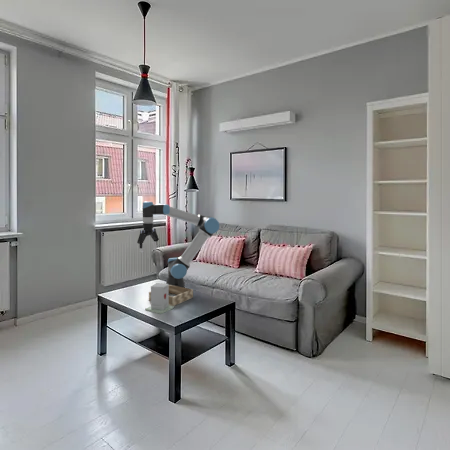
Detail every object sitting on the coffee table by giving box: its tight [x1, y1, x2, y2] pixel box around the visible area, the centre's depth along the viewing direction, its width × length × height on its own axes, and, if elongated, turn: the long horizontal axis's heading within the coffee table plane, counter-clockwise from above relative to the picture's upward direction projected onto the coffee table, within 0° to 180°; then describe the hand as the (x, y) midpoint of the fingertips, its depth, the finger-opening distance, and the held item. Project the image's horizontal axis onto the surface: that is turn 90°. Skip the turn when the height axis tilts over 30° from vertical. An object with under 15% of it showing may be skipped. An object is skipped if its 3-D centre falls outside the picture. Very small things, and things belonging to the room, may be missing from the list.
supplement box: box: [150, 282, 170, 310], centre depth 224 cm, size 9×9×15 cm
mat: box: [145, 305, 175, 315], centre depth 225 cm, size 13×13×1 cm
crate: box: [148, 285, 194, 307], centre depth 245 cm, size 22×22×6 cm
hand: (148, 251), depth 255 cm, fingers open, 13 cm apart
